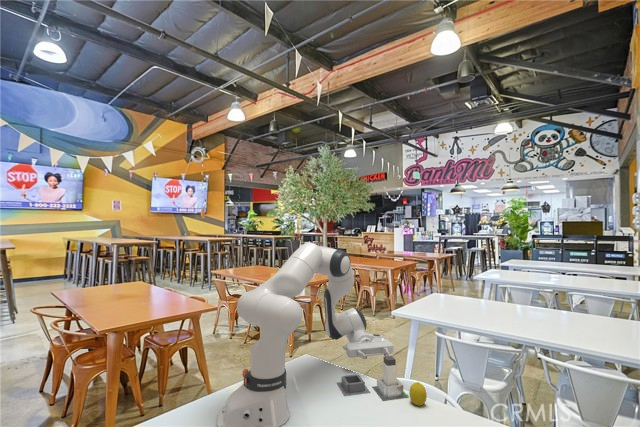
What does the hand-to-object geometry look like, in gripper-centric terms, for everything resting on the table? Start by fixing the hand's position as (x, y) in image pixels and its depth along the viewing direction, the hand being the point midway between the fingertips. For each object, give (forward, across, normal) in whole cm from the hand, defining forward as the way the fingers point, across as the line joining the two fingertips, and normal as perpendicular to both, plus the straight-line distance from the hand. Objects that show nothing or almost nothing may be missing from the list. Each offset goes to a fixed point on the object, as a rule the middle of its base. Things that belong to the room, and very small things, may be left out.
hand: (376, 356), depth 126 cm
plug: (+12, 0, +8) cm, 14 cm away
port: (+12, 0, +9) cm, 15 cm away
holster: (+6, -12, +9) cm, 16 cm away
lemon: (+21, +6, +9) cm, 24 cm away
